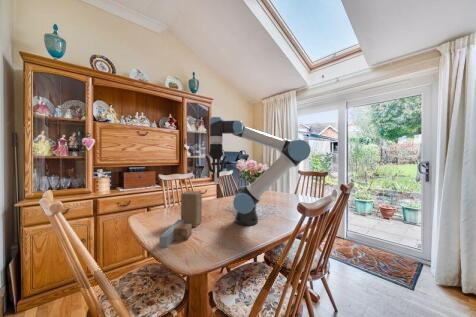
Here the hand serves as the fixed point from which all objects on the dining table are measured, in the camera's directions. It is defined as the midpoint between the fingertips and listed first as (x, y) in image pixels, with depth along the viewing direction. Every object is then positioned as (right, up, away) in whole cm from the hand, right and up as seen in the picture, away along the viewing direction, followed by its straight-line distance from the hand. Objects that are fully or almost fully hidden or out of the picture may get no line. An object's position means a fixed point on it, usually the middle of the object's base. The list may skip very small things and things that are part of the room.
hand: (215, 183), depth 119 cm
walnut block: (-16, -27, -13) cm, 34 cm away
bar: (-21, -27, -13) cm, 36 cm away
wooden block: (-16, -26, +6) cm, 31 cm away
